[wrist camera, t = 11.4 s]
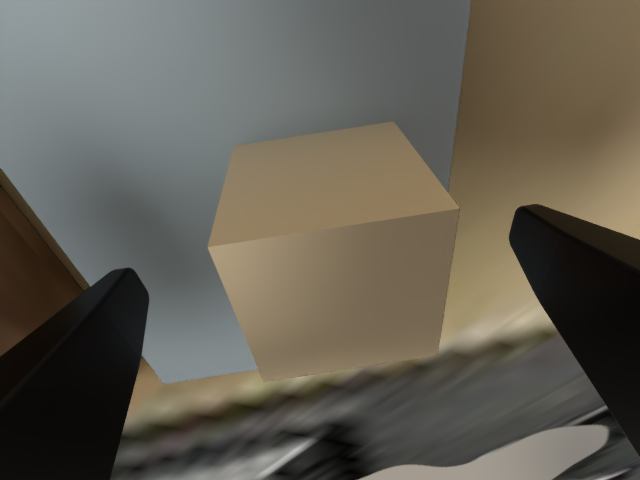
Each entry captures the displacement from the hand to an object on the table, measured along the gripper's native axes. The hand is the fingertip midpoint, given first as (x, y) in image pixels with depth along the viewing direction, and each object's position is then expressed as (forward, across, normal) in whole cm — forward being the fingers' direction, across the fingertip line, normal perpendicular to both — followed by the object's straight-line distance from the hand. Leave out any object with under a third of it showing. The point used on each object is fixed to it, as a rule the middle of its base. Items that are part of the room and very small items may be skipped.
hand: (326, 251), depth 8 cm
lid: (+3, +2, 0) cm, 4 cm away
